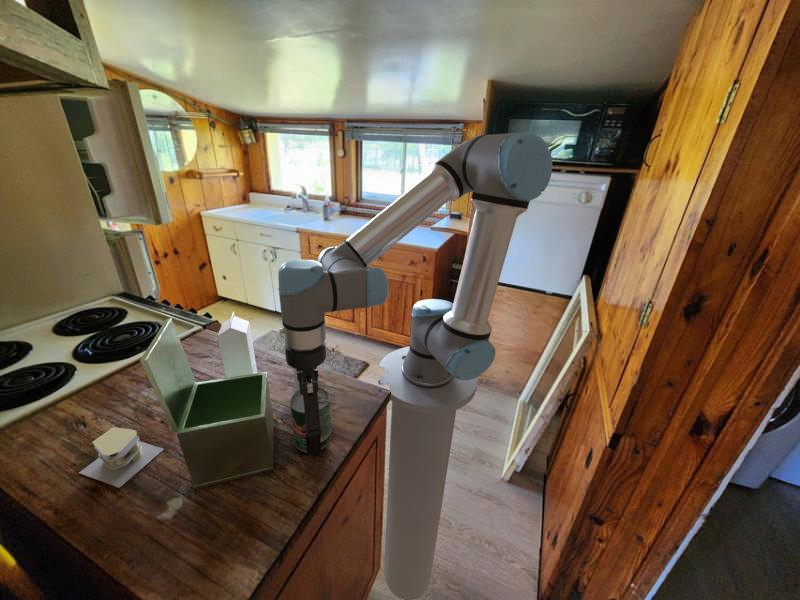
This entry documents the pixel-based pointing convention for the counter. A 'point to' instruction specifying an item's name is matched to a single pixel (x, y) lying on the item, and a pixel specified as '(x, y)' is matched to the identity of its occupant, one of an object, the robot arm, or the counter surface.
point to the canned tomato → (299, 418)
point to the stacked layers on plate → (119, 456)
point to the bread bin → (228, 429)
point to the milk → (237, 347)
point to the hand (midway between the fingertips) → (310, 427)
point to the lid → (169, 373)
